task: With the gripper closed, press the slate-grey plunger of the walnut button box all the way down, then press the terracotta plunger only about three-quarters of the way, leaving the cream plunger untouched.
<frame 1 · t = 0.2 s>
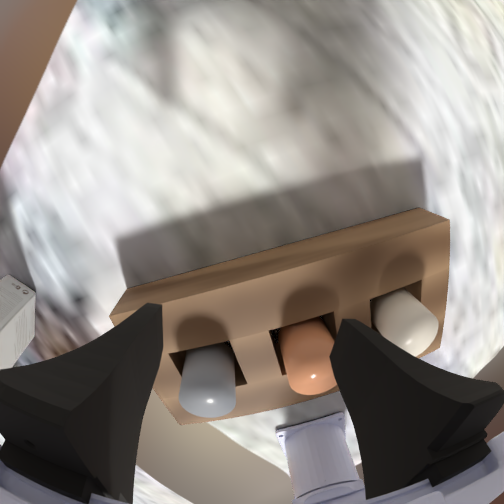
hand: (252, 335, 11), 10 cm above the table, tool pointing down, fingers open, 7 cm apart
cream plunger: (402, 320, 18), point 5 cm above the table, slide at 0.0 cm
slate plunger: (208, 378, 18), point 5 cm above the table, slide at 0.0 cm
walnut button box: (295, 315, 22), on the table
skincare box 2: (23, 306, 21), on the table
terracotta plunger: (309, 353, 18), point 5 cm above the table, slide at 0.0 cm
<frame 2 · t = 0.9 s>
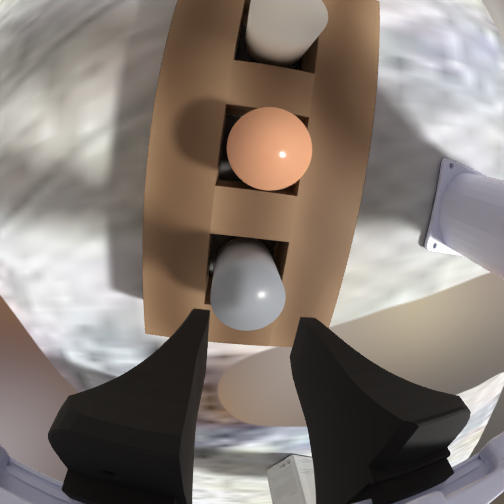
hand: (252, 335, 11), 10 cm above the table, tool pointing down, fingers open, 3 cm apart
cream plunger: (281, 27, 11), point 5 cm above the table, slide at 0.0 cm
skincare box: (301, 463, 32), on the table
slate plunger: (245, 280, 16), point 5 cm above the table, slide at 0.0 cm
walnut button box: (256, 150, 18), on the table
terracotta plunger: (264, 149, 13), point 5 cm above the table, slide at 0.0 cm
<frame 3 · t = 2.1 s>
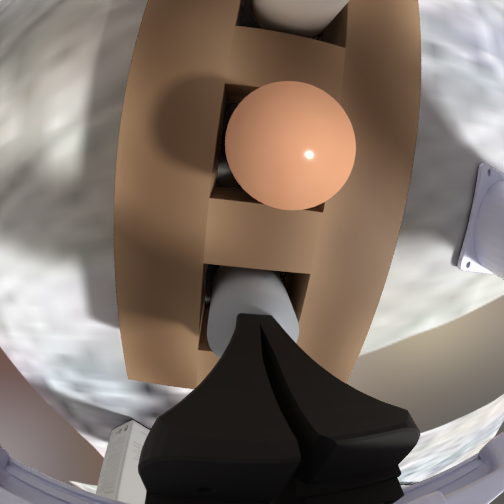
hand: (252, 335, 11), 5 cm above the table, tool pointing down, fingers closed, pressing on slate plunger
slate plunger: (249, 307, 13), point 3 cm above the table, slide at 1.5 cm, touching gripper
walnut button box: (264, 149, 14), on the table
skincare box 2: (149, 437, 21), on the table
terracotta plunger: (280, 146, 9), point 5 cm above the table, slide at 0.0 cm
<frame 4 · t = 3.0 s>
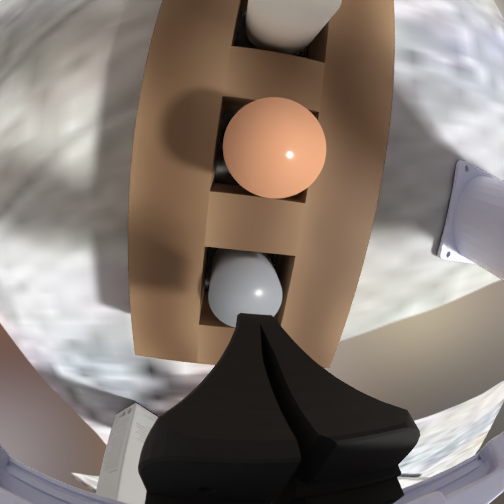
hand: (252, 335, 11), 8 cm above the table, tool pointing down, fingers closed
cream plunger: (287, 9, 9), point 5 cm above the table, slide at 0.0 cm
salad plate: (371, 493, 38), on the table
slate plunger: (243, 279, 16), point 2 cm above the table, slide at 2.4 cm
walnut button box: (256, 150, 16), on the table
skincare box 2: (150, 421, 23), on the table
terracotta plunger: (267, 148, 11), point 5 cm above the table, slide at 0.0 cm
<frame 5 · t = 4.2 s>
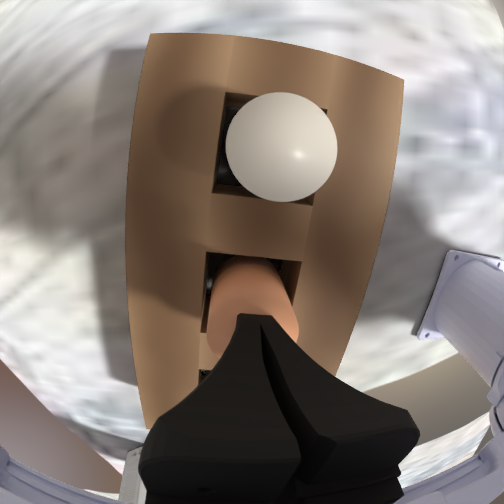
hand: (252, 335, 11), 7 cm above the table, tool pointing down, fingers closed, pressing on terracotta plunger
cream plunger: (273, 147, 11), point 5 cm above the table, slide at 0.0 cm
slate plunger: (233, 379, 17), point 2 cm above the table, slide at 2.4 cm
walnut button box: (244, 267, 17), on the table
skincare box 2: (158, 457, 25), on the table
terracotta plunger: (249, 307, 13), point 5 cm above the table, slide at 0.0 cm, touching gripper
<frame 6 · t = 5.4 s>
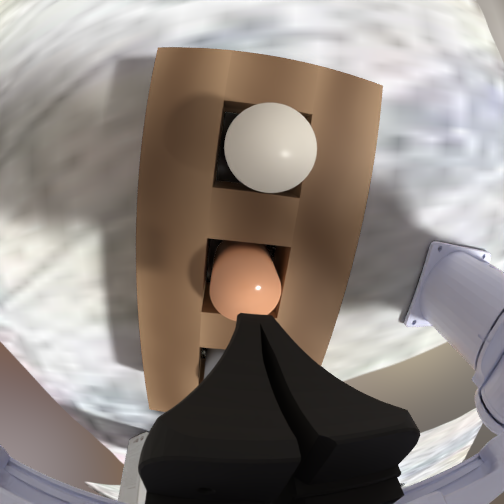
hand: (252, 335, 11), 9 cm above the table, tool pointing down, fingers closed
cream plunger: (264, 148, 12), point 5 cm above the table, slide at 0.0 cm
slate plunger: (231, 359, 19), point 2 cm above the table, slide at 2.4 cm
walnut button box: (241, 255, 19), on the table
skincare box 2: (159, 444, 27), on the table
terracotta plunger: (243, 274, 16), point 3 cm above the table, slide at 1.7 cm
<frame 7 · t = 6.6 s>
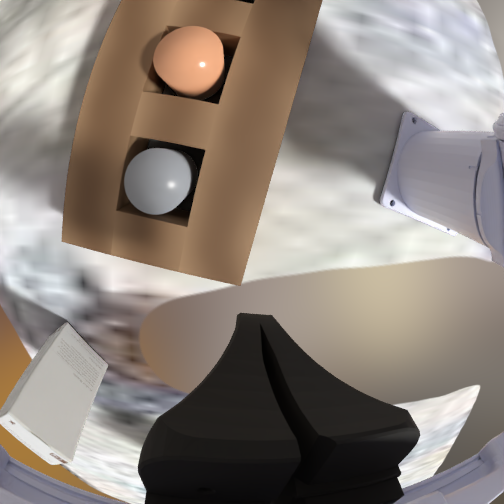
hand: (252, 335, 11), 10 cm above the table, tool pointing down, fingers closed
slate plunger: (164, 178, 16), point 2 cm above the table, slide at 2.4 cm
walnut button box: (198, 79, 16), on the table
skincare box 2: (80, 349, 23), on the table
terracotta plunger: (192, 66, 13), point 3 cm above the table, slide at 1.7 cm
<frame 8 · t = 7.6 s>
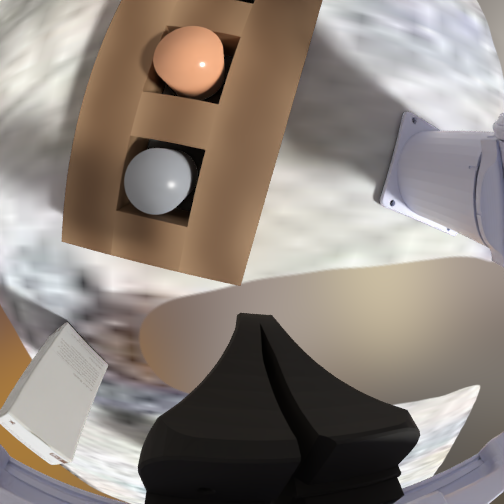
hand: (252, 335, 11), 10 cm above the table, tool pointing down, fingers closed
slate plunger: (164, 178, 16), point 2 cm above the table, slide at 2.4 cm
walnut button box: (198, 79, 16), on the table
skincare box 2: (80, 349, 23), on the table
terracotta plunger: (192, 66, 13), point 3 cm above the table, slide at 1.7 cm
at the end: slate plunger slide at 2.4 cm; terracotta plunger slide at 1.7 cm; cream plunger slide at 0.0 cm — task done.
